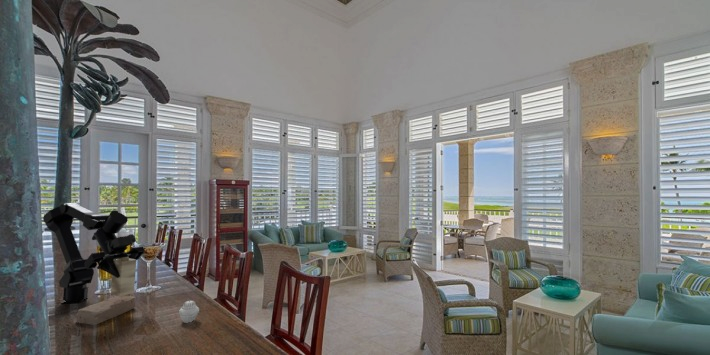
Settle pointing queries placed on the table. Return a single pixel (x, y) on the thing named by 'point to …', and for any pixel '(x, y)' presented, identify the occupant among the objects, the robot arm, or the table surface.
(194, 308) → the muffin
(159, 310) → the table surface
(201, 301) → the table surface
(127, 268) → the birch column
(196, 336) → the table surface
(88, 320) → the brick
